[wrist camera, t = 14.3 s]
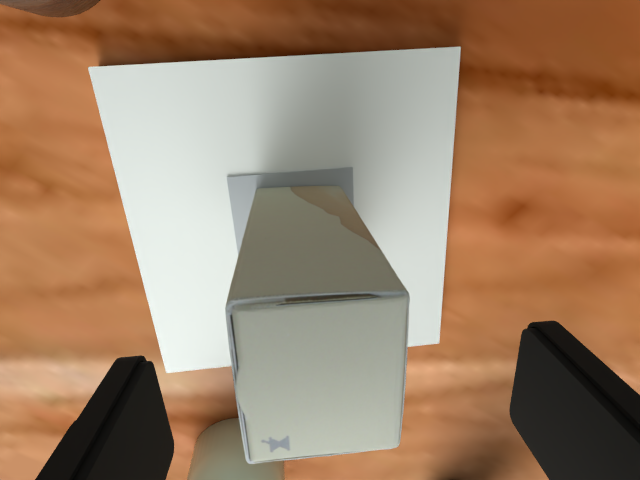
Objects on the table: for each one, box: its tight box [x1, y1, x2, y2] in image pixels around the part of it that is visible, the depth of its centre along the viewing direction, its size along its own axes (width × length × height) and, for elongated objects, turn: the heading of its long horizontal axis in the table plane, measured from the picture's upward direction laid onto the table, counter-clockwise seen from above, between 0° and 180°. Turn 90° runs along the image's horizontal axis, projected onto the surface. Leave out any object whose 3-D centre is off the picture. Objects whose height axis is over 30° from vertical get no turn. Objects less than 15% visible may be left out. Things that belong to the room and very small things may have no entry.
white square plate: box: [88, 47, 461, 373], centre depth 20 cm, size 16×16×1 cm
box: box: [225, 186, 410, 464], centre depth 15 cm, size 5×4×11 cm
